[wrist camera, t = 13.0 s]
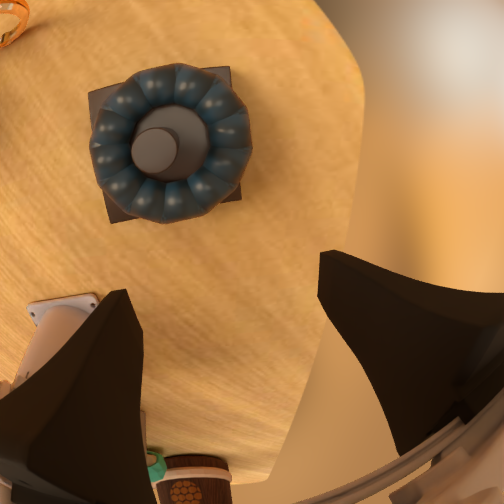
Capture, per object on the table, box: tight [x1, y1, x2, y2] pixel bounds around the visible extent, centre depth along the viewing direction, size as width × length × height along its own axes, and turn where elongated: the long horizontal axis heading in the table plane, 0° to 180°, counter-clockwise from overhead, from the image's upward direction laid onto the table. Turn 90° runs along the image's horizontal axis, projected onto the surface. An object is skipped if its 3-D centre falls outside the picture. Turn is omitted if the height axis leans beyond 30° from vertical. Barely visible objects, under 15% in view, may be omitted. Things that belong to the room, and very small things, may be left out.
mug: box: [151, 456, 232, 504], centre depth 31 cm, size 20×15×15 cm
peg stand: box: [88, 66, 242, 224], centre depth 13 cm, size 9×9×7 cm
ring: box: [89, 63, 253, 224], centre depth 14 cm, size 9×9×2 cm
